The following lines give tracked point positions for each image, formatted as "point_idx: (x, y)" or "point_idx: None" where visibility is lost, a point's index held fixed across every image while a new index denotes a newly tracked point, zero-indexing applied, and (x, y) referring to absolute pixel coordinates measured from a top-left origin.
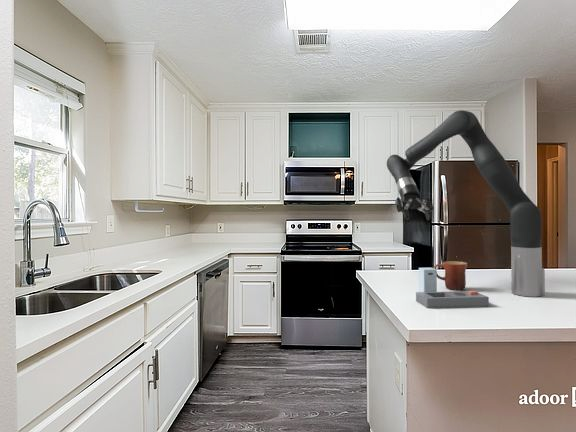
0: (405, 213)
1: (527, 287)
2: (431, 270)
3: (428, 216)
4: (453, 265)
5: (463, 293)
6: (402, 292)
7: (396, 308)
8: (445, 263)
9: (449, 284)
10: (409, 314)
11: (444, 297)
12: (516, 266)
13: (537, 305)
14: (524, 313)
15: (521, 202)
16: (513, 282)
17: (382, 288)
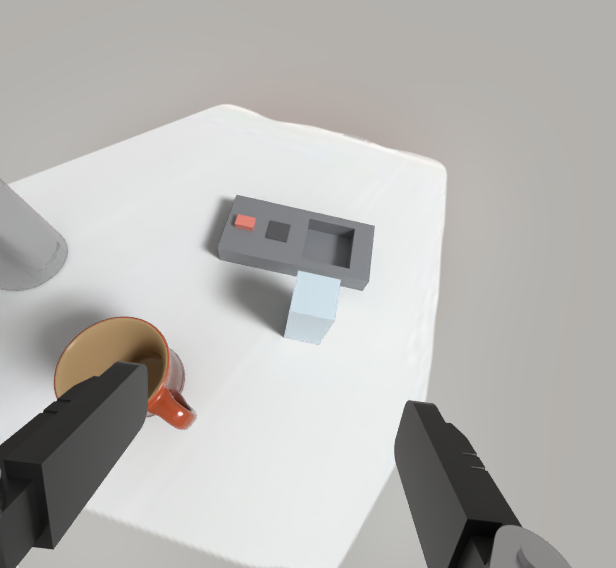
0: (480, 467)
1: (46, 221)
2: (314, 275)
3: (133, 386)
4: (160, 333)
5: (268, 229)
6: (349, 389)
7: (429, 254)
8: (168, 366)
9: (183, 368)
10: (420, 216)
11: (332, 221)
12: (6, 205)
13: (134, 182)
14: (218, 159)
15: None
16: (39, 250)
17: (388, 471)
